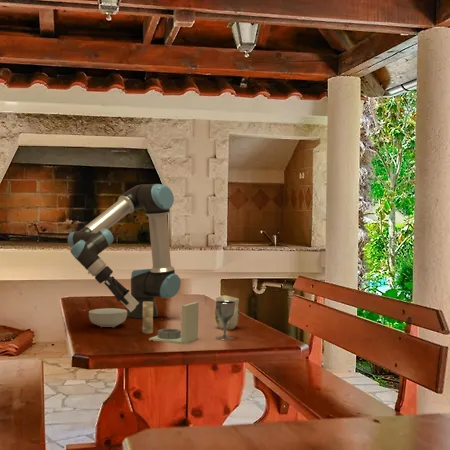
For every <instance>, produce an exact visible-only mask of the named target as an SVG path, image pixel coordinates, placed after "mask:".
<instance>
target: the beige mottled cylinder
mask: <svg viewBox="0 0 450 450" xmlns="http://www.w3.org/2000/svg"><path fill="white" fill-rule="evenodd" d="M141 331H142V334H153V333H154V318H153V302H150V301H146V302H143V318H142V330H141Z"/></svg>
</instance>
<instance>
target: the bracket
mask: <svg viewBox="0 0 450 450" xmlns="http://www.w3.org/2000/svg"><path fill="white" fill-rule="evenodd" d="M199 304H200V303H199V302H198V301H194V302H190V303H187V304H183V305H181V329H178V328H161V329H158V330H157V335H155V336H151V337H149V338H148V341H151V340H153V341H154V342H160V343H161V342H162V343H163V342H164V343H173V344H180V345H181V344H182V345H186V344H188V343H191V342H194V341H196V340H199ZM153 341H152V342H153Z"/></svg>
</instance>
